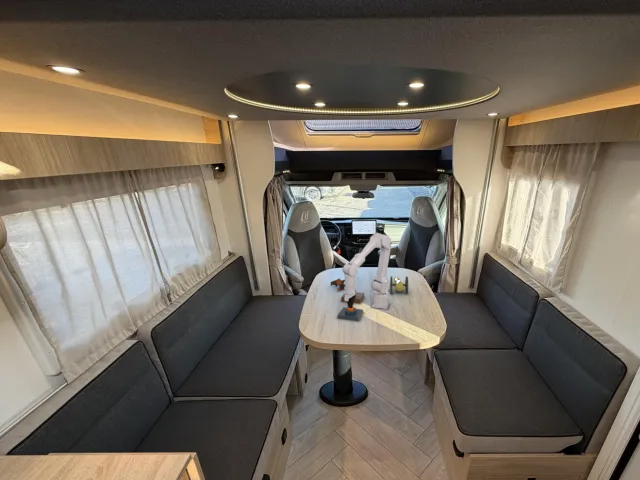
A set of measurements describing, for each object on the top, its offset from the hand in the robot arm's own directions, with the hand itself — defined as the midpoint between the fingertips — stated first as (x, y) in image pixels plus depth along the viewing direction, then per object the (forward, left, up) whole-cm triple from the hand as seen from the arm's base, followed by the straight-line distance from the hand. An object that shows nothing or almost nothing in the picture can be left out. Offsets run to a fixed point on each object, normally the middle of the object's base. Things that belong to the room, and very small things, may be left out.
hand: (350, 307), depth 174 cm
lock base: (+5, -21, -5) cm, 22 cm away
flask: (0, 0, -5) cm, 5 cm away
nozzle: (0, 0, -2) cm, 2 cm away
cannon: (-20, -44, -5) cm, 49 cm away
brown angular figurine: (+19, -35, -5) cm, 40 cm away
